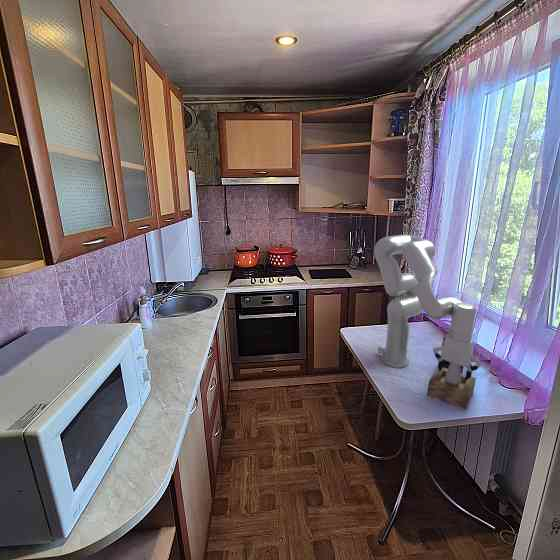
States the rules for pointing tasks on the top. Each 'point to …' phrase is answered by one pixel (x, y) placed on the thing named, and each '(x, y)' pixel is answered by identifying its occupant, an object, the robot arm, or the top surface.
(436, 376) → the walnut open box
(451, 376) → the salt shaker
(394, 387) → the top surface
